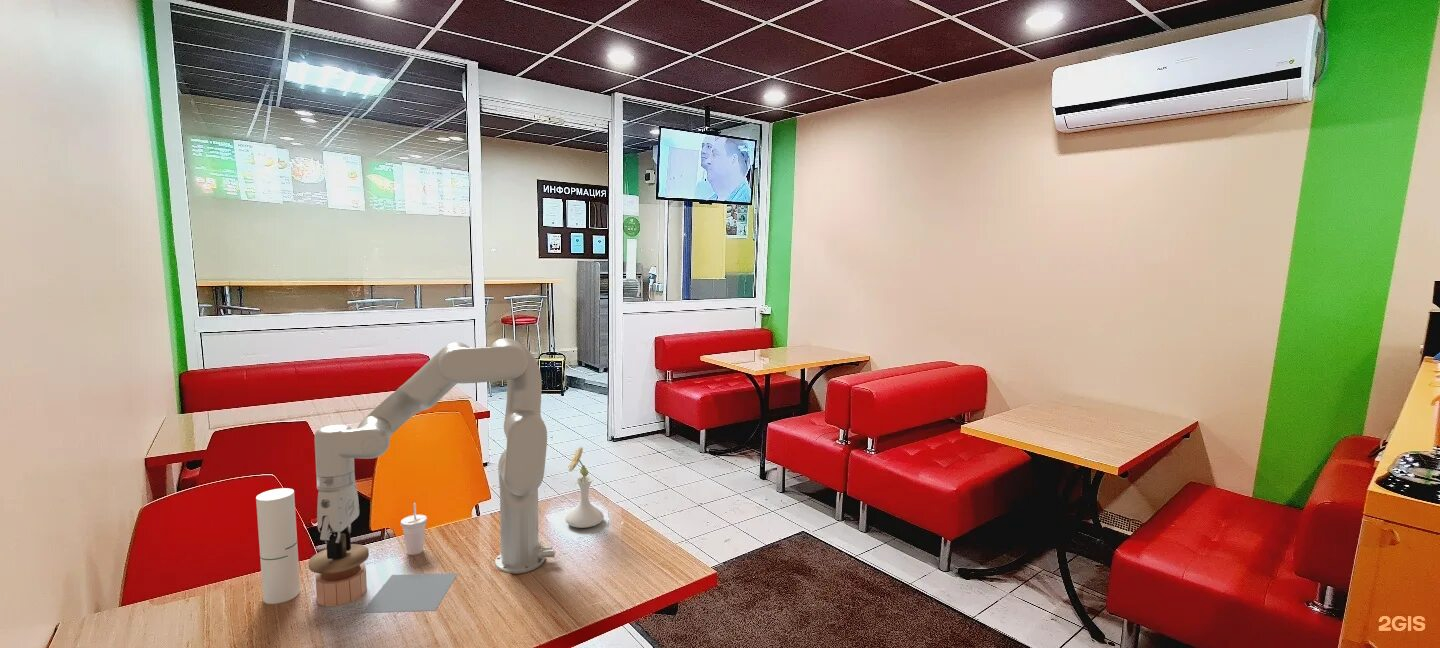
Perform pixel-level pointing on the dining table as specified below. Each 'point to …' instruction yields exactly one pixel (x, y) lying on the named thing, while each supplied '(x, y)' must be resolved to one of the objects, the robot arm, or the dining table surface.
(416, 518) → the smoothie
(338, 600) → the bowl
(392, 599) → the mat
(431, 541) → the dining table surface
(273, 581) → the cylindrical container
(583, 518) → the flower in vase
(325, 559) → the lid
